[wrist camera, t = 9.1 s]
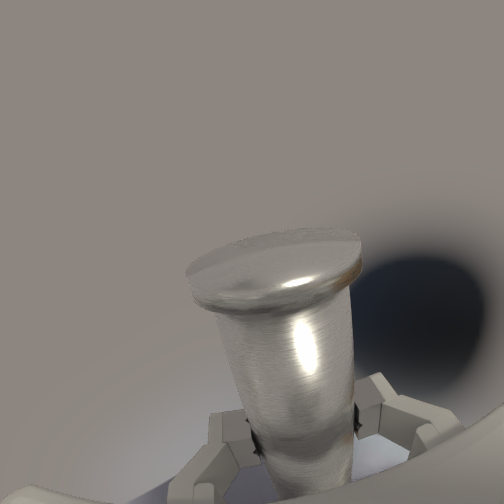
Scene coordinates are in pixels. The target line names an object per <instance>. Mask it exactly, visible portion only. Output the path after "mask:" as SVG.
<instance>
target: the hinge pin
mask: <svg viewBox="0 0 504 504" xmlns="http://www.w3.org/2000/svg"><path fill="white" fill-rule="evenodd" d="M362 266H363V261H362V251H361V242H360V238H359V237H358V235H357V234H355V233H353V232H351V231H348V230H343V229H337V228H302V229H294V230H286V231H279V232H273V233H268V234H263V235H259V236H255V237H251V238H247V239H244V240H240V241H237V242H234V243H231V244H228V245H225V246H222V247H220V248H217V249H215V250H213V251H211V252H209V253H207V254H205V255H203V256H201V257H200V258H198V259H197V260H195V261H194V262H193V263H192V264H191V265H190V266H189V267H188V268H187V270H186V277H187V280H188V284H189V287H190V290H191V294H192V297H193V300H194V301H195V303H196V304H198V305H199V306H200V307H202V308H204V309H206V310H210V311H212V312H214V315H215V319H216V322H217V325H218V328H219V332H220V335H221V339H222V341H223V345H224V348H225V352H226V354H227V358H228V361H229V364H230V367H231V370H232V373H233V376H234V380H235V383H236V386H237V389H238V392H239V395H240V398H241V400H242V403H243V406H244V409H245V412H246V415H247V418H248V421H249V424H250V426H251V429H252V432H253V434H254V437H255V440H256V443H257V445H258V448H259V451H260V454H261V456H262V459H263V461H264V464H265V467H266V469H267V472H268V474H269V477H270V479H271V482H272V484H273V487H274V489H275V492H276V494H277V497H278V499H279V501H283V500H288V499H293V498H297V497H302V496H306V495H310V494H314V493H318V492H322V491H326V490H329V489H333V488H336V487H340V486H343V485H346V484H349V483H351V477H352V463H353V445H354V356H353V334H352V318H351V305H350V294H349V284H351V283H352V282H353V281H354V280H355V279H356V278H357V277H358V276H359V274H360V273H361V271H362Z"/></svg>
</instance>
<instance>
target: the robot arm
mask: <svg viewBox="0 0 504 504" xmlns="http://www.w3.org/2000/svg"><path fill="white" fill-rule="evenodd" d="M354 432H355V434H356V436H357V438H358V440H359V439H362V438H365V437H368V436H371V435H374V434H377V433H379V434H380V435H382V436H383V437H385V438H387V439H389V440H391V441H392V442H394V443H396V444H398V445H400V446H402V447H404V448H405V449H407V450H409V451H410V453H409V456H408V459H407V461H405V462H403V463H401V464H399V465H397V466H394V467H392V468H390V469H387V470H385V471H382V472H380V473H377V474H375V475H372V476H369V477H367V478H364V479H361V480H358V481H355V482H352V483H349V484H346V485H343V486H340V487H336V488H333V489H329V490H326V491H322V492H318V493H314V494H310V495H306V496H302V497H297V498H293V499H288V500H283V501H277V502H271V503H265V504H504V402H503V403H502V404H501V405H499V406H498V407H497V408H495V409H494V410H493V411H491V412H490V413H488V414H487V415H486V416H484V417H483V418H482V419H480V420H478V421H477V422H476V423H474V424H472V425H471V426H469V427H468V428H466V429H465V428H464V426H463V425H462V424H461V423H460V422H459V421H458V419H457V418H456V417H455V416H454V414H453V413H452V412H451V411H450V410H447V409H444V408H441V407H437V406H434V405H431V404H427V403H424V402H421V401H418V400H415V399H412V398H409V397H406V396H403V395H400V396H398V395H397V394H396V392H395V391H394V390H393V388H392V387H391V386H390V384H389V383H388V381H387V380H386V379H385V377H384V376H383V375H382V374H381V373H380V372H379V373H376V374H373V375H371V376H368V377H365V378H362V379H359V380H356V381H354ZM257 465H262V462H261V454H260V451H259V448H258V445H257V443H256V440H255V437H254V434H253V432H252V429H251V426H250V424H249V421H248V418H247V415H246V412H245V409H241V410H235V411H227V412H222V413H213V414H211V415H210V417H209V434H208V445H204V446H203V447H202V448H201V449H200V450H199V452H198V453H197V454H196V455H195V456H194V457H193V458H192V459H191V460H190V461H189V462H188V464H187V465H186V466H185V467H184V468H183V469H182V470H181V471H180V472H179V473H178V474H177V475H176V476H175V478H174V479H173V480H172V481H171V482H170V483H169V487H168V494H167V501H166V504H227V503H226V501H225V500H224V499H223V496H224V495H225V493H226V492H227V490H228V488H229V487H230V485H231V484H232V482H233V480H234V479H235V477H236V475H237V474H238V472H239V470H240V469H239V468H245V467H251V466H257ZM0 504H111V503H105V502H99V501H94V500H89V499H84V498H79V497H75V496H71V495H67V494H63V493H59V492H56V491H52V490H49V489H46V488H43V487H40V486H37V485H27V486H24V487H22V488H20V489H18V490H17V491H15V492H13V493H12V494H10V495H8V496H6V497H5V498H4V499H3V500H2V501H1V502H0Z"/></svg>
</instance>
